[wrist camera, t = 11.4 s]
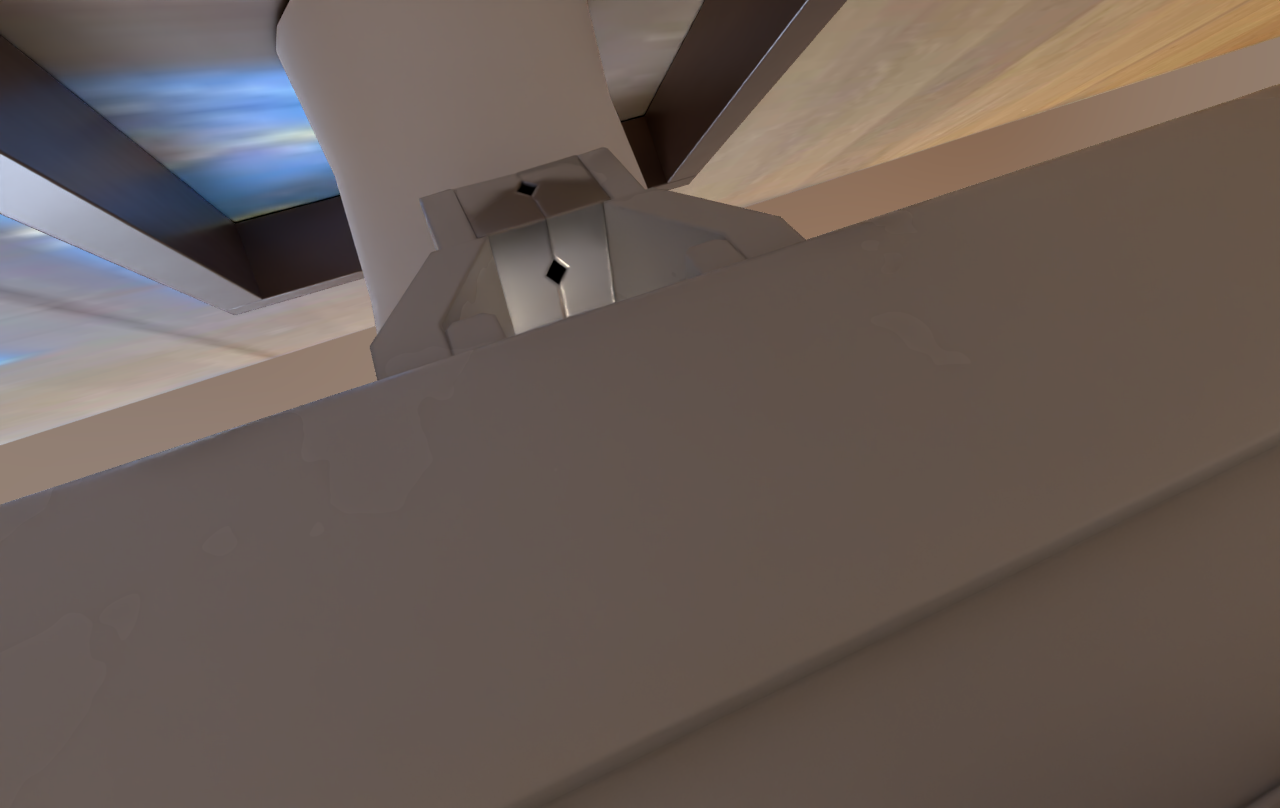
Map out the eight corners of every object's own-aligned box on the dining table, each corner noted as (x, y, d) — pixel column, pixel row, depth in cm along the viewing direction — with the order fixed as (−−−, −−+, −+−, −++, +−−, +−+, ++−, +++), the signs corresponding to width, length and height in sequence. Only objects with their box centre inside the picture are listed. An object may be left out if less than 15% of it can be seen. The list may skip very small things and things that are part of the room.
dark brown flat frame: (875, -223, 12) (919, -82, 12) (667, 119, 26) (689, 184, 26) (-232, -45, 9) (-154, 148, 9) (206, 242, 22) (234, 316, 22)
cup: (636, 71, 21) (780, 497, 21) (285, 174, 20) (449, 622, 20) (721, -259, 10) (996, 592, 11) (-21, -81, 9) (338, 862, 10)
